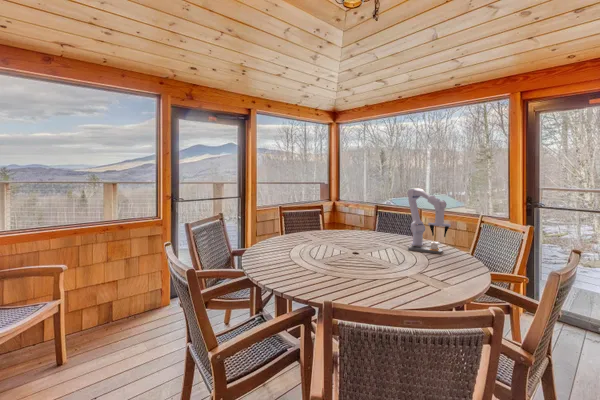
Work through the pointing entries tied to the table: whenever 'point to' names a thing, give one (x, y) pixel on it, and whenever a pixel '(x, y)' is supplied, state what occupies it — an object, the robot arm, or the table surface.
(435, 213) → the robot arm
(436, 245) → the drilled metal block
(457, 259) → the table surface
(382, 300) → the table surface
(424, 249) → the rail
